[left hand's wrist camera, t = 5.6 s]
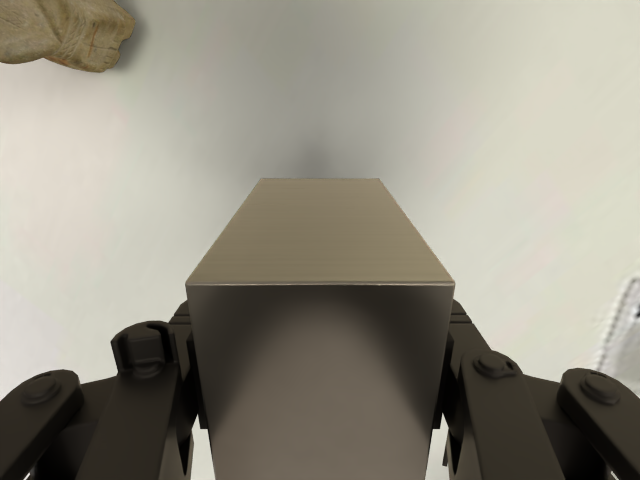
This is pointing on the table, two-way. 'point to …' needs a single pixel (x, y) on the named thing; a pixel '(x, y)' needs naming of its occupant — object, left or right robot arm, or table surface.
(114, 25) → the sculpture
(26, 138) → the table surface
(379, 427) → the bar
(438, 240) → the table surface
